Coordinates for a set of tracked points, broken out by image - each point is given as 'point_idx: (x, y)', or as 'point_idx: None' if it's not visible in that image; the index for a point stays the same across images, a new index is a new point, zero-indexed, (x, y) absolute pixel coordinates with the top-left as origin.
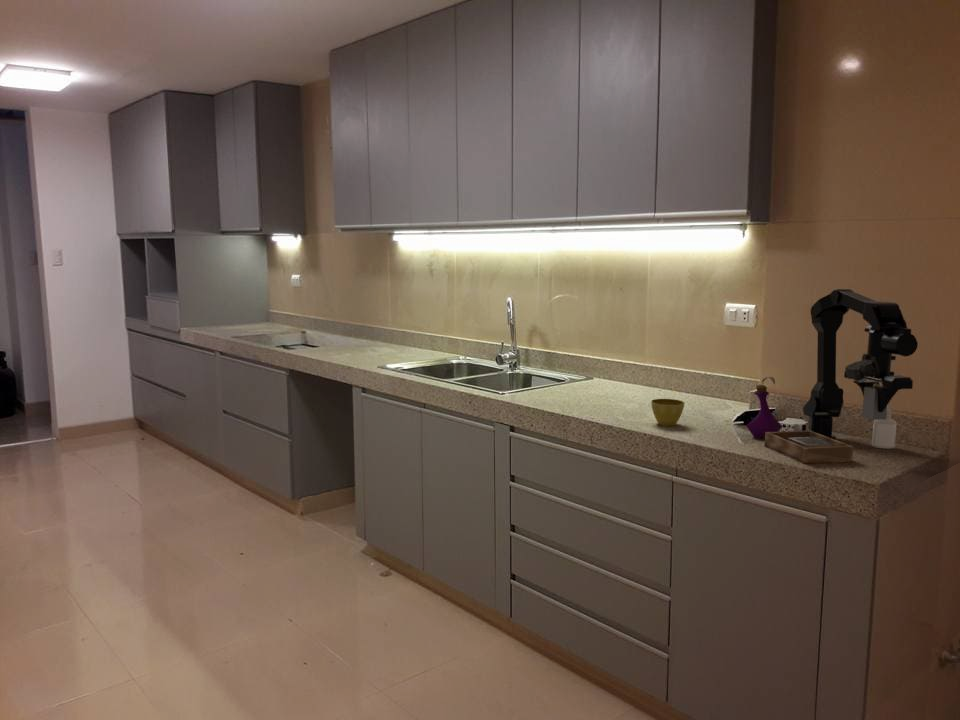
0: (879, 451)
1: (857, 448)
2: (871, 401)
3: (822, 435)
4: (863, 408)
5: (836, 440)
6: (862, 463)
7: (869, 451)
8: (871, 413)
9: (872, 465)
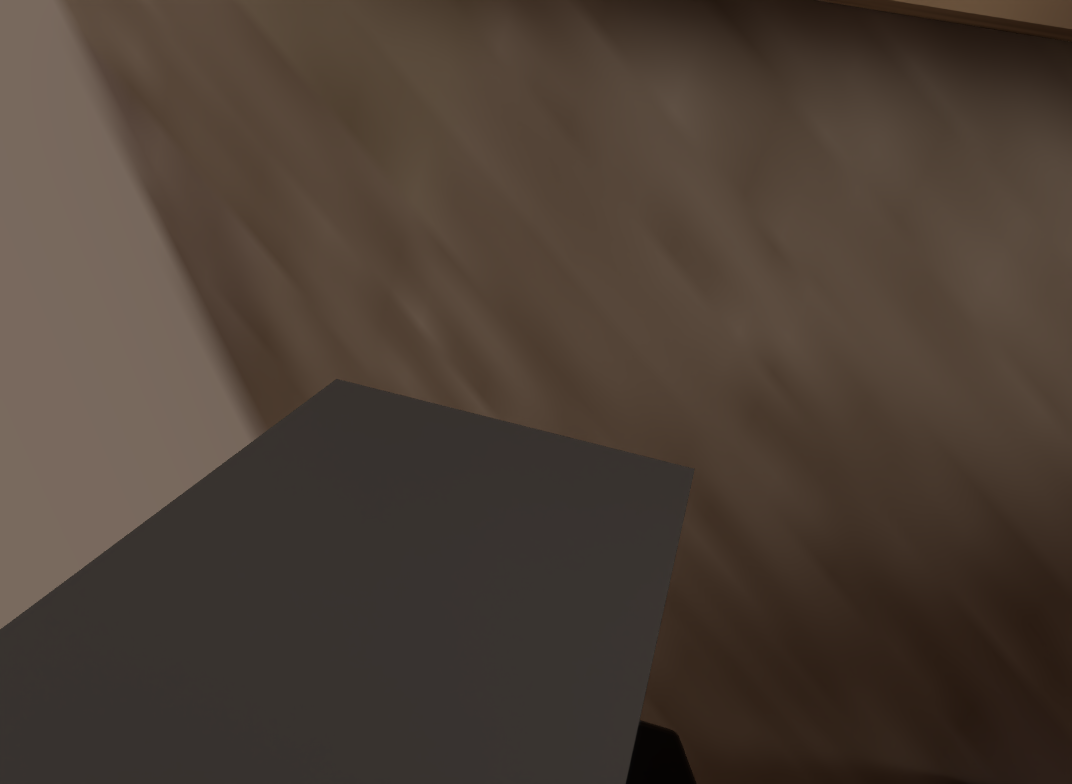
0: (816, 683)
1: (1042, 592)
2: (159, 657)
3: None
4: (627, 570)
5: (987, 3)
6: (496, 33)
7: (868, 591)
8: (317, 445)
9: (396, 80)
